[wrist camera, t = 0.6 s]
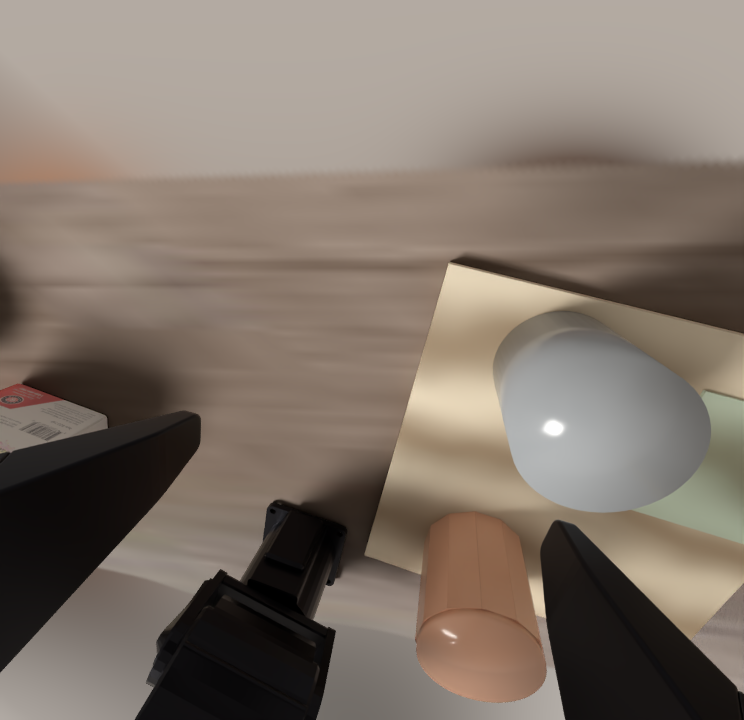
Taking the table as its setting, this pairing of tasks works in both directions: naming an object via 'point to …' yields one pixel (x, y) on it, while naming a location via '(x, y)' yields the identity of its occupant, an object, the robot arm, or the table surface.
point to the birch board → (514, 495)
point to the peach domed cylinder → (478, 611)
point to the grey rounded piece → (595, 415)
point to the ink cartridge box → (41, 418)
